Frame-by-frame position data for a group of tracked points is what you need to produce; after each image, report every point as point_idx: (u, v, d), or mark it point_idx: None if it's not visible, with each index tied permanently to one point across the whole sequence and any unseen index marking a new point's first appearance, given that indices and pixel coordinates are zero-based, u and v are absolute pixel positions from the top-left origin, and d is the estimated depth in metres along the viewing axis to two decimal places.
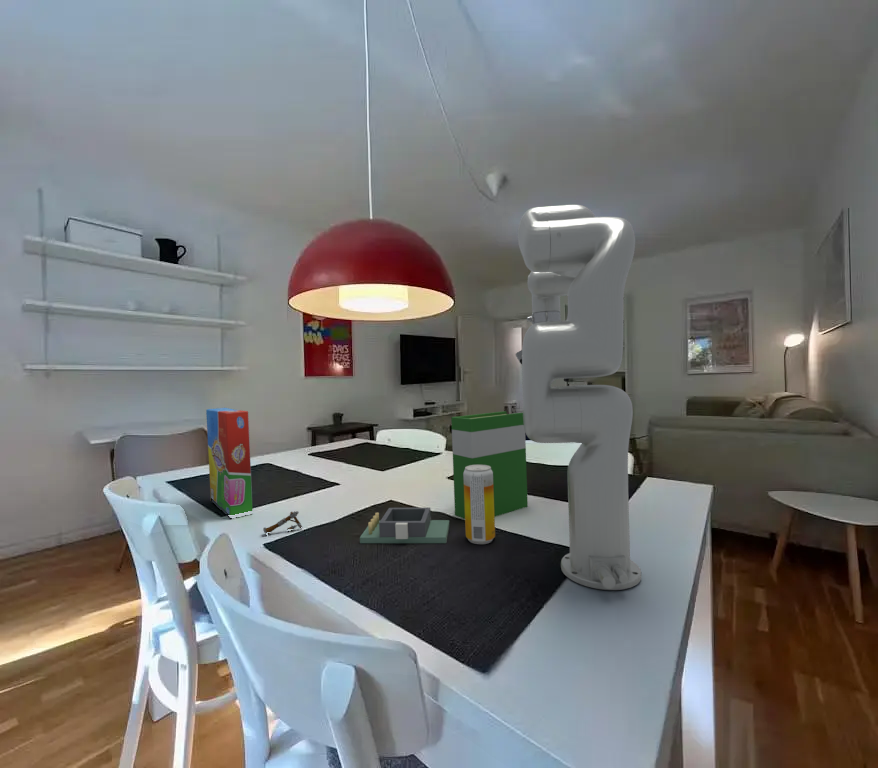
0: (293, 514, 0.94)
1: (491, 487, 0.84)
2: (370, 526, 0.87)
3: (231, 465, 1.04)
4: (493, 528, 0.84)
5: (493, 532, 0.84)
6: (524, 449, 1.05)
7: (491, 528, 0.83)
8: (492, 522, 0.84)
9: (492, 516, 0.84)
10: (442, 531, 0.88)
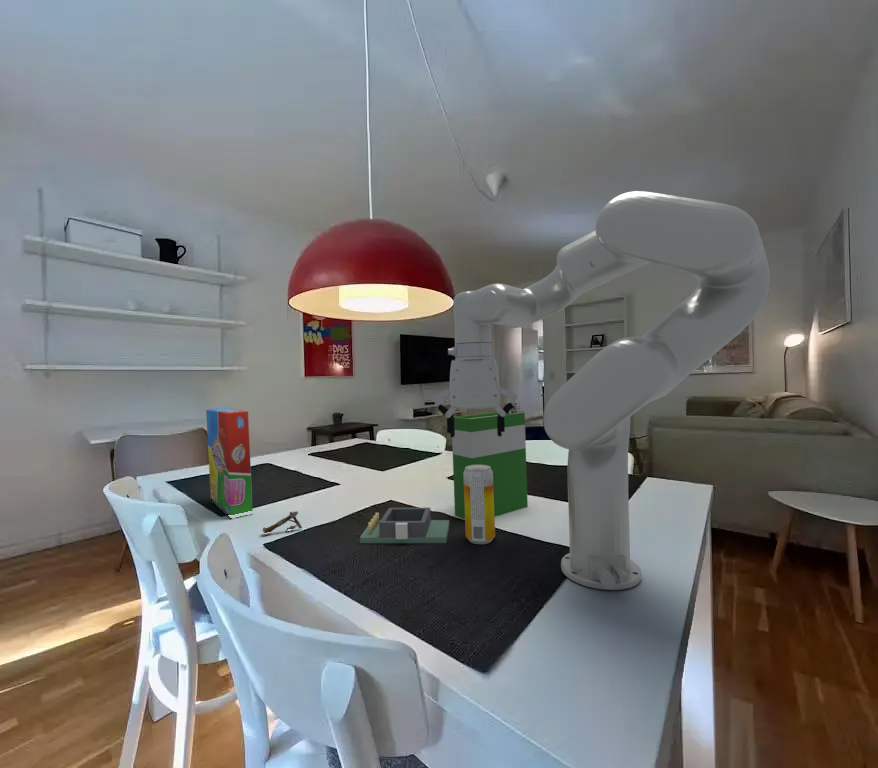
0: (292, 514, 0.94)
1: (491, 487, 0.84)
2: (370, 526, 0.87)
3: (231, 465, 1.04)
4: (493, 528, 0.84)
5: (493, 532, 0.84)
6: (524, 449, 1.05)
7: (491, 528, 0.83)
8: (492, 522, 0.84)
9: (492, 516, 0.84)
10: (442, 531, 0.88)
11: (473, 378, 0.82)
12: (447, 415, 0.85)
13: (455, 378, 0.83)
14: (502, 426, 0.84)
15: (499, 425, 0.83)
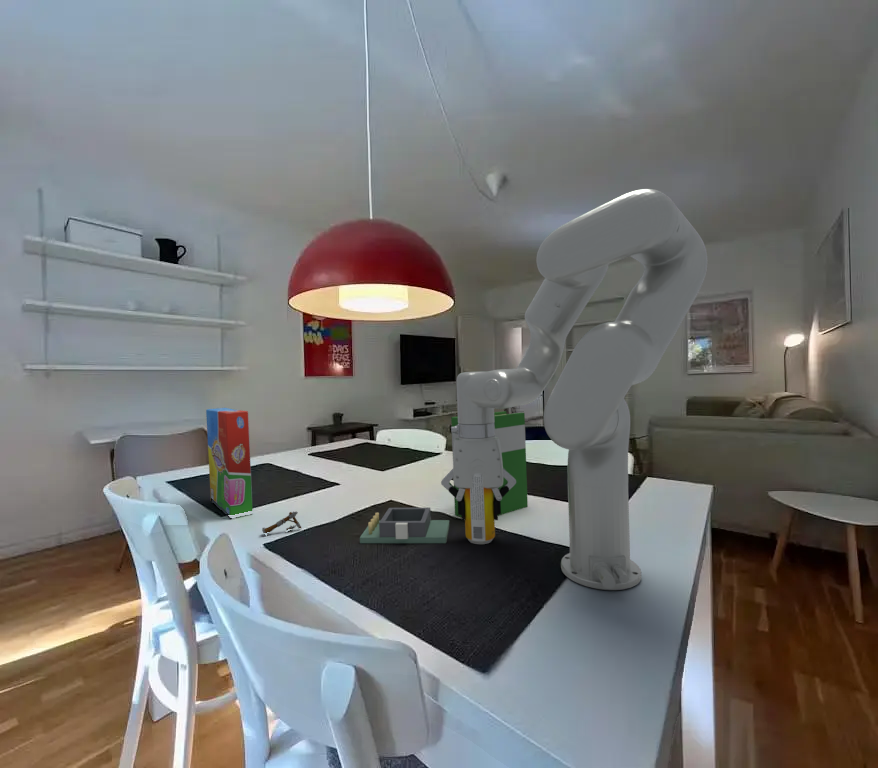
0: (292, 514, 0.94)
1: None
2: (370, 526, 0.87)
3: (231, 465, 1.04)
4: (493, 528, 0.84)
5: (493, 532, 0.84)
6: (524, 449, 1.05)
7: (491, 528, 0.83)
8: (492, 522, 0.84)
9: (492, 516, 0.84)
10: (442, 531, 0.88)
11: (476, 458, 0.83)
12: (458, 498, 0.85)
13: (458, 458, 0.83)
14: (498, 509, 0.84)
15: (495, 509, 0.84)
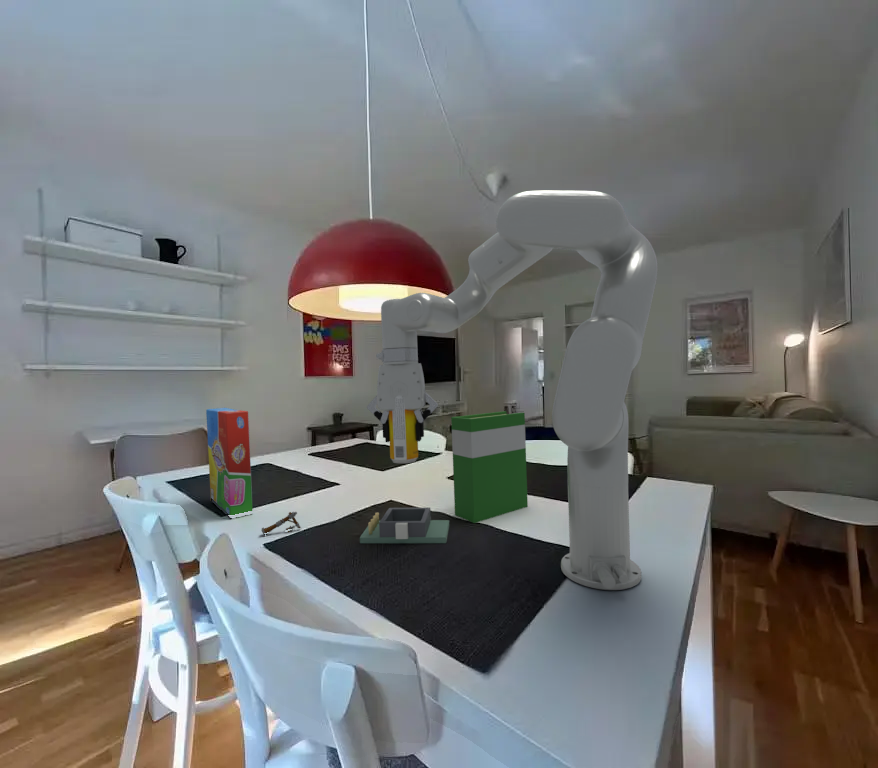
0: (291, 515, 0.94)
1: None
2: (370, 526, 0.87)
3: (231, 465, 1.04)
4: (415, 449, 0.88)
5: (415, 452, 0.88)
6: (524, 449, 1.05)
7: (413, 448, 0.88)
8: (414, 443, 0.88)
9: (414, 437, 0.88)
10: (442, 531, 0.88)
11: (398, 381, 0.87)
12: (382, 421, 0.89)
13: (381, 382, 0.87)
14: (420, 431, 0.88)
15: (417, 430, 0.88)
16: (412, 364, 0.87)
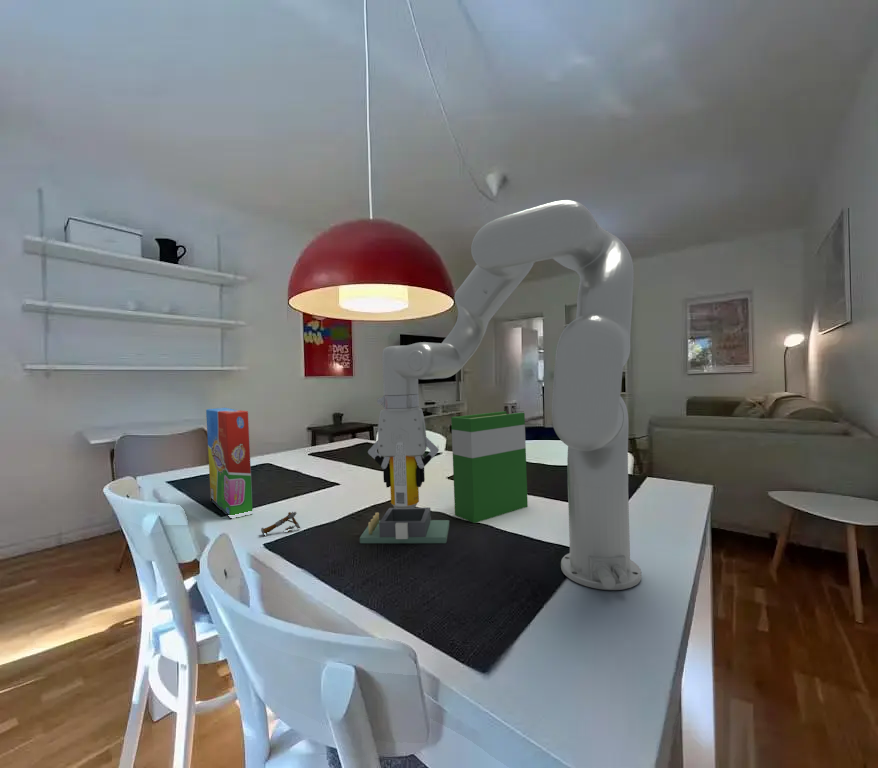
0: (291, 515, 0.94)
1: None
2: (370, 526, 0.87)
3: (231, 465, 1.04)
4: (416, 494, 0.89)
5: (415, 498, 0.88)
6: (524, 449, 1.05)
7: (413, 494, 0.88)
8: (414, 488, 0.88)
9: (414, 483, 0.88)
10: (442, 531, 0.88)
11: (399, 428, 0.87)
12: (383, 466, 0.89)
13: (382, 428, 0.87)
14: (421, 477, 0.89)
15: (418, 476, 0.88)
16: (413, 411, 0.87)
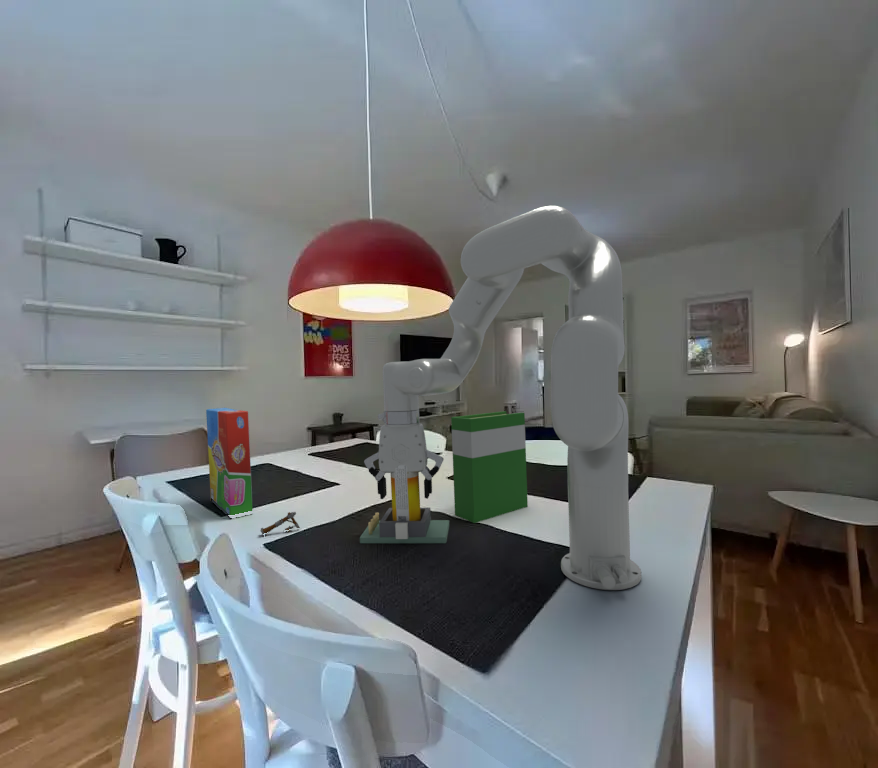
0: (290, 515, 0.94)
1: (415, 478, 0.88)
2: (370, 526, 0.87)
3: (231, 465, 1.04)
4: (418, 517, 0.89)
5: None
6: (524, 449, 1.05)
7: (415, 517, 0.88)
8: (416, 512, 0.88)
9: (416, 506, 0.88)
10: (442, 531, 0.88)
11: (400, 444, 0.87)
12: (377, 478, 0.89)
13: (383, 444, 0.88)
14: (429, 488, 0.89)
15: (425, 488, 0.88)
16: (414, 427, 0.87)
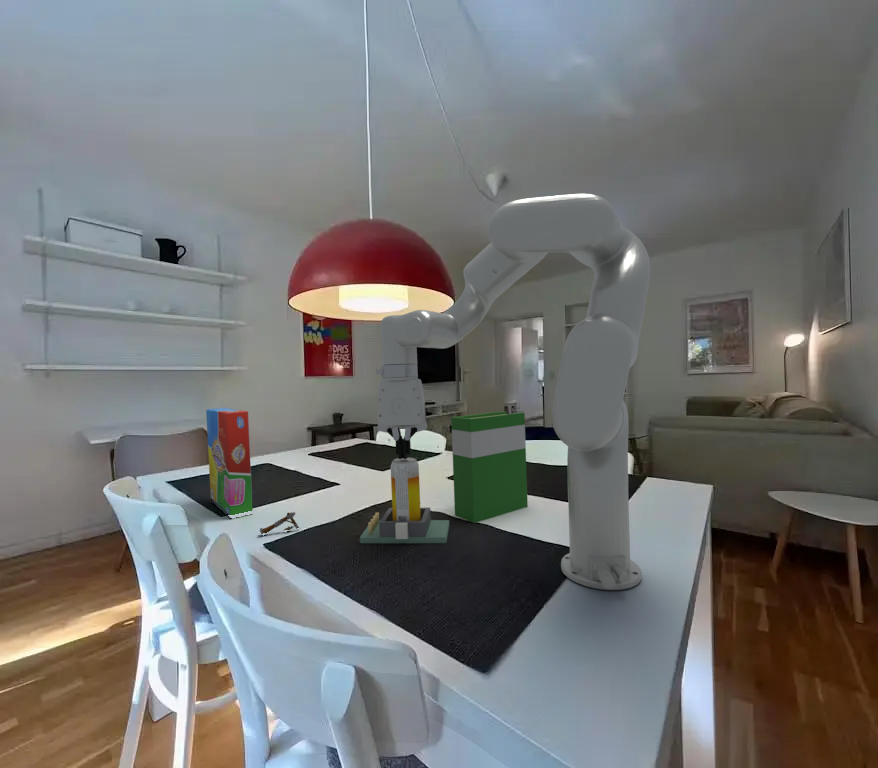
0: (290, 515, 0.94)
1: (415, 478, 0.88)
2: (370, 526, 0.87)
3: (231, 465, 1.04)
4: (418, 517, 0.89)
5: None
6: (524, 449, 1.05)
7: (415, 517, 0.88)
8: (417, 512, 0.88)
9: (417, 506, 0.88)
10: (442, 531, 0.88)
11: (398, 397, 0.87)
12: (396, 438, 0.89)
13: (381, 398, 0.87)
14: (407, 449, 0.89)
15: (403, 448, 0.88)
16: (412, 380, 0.87)
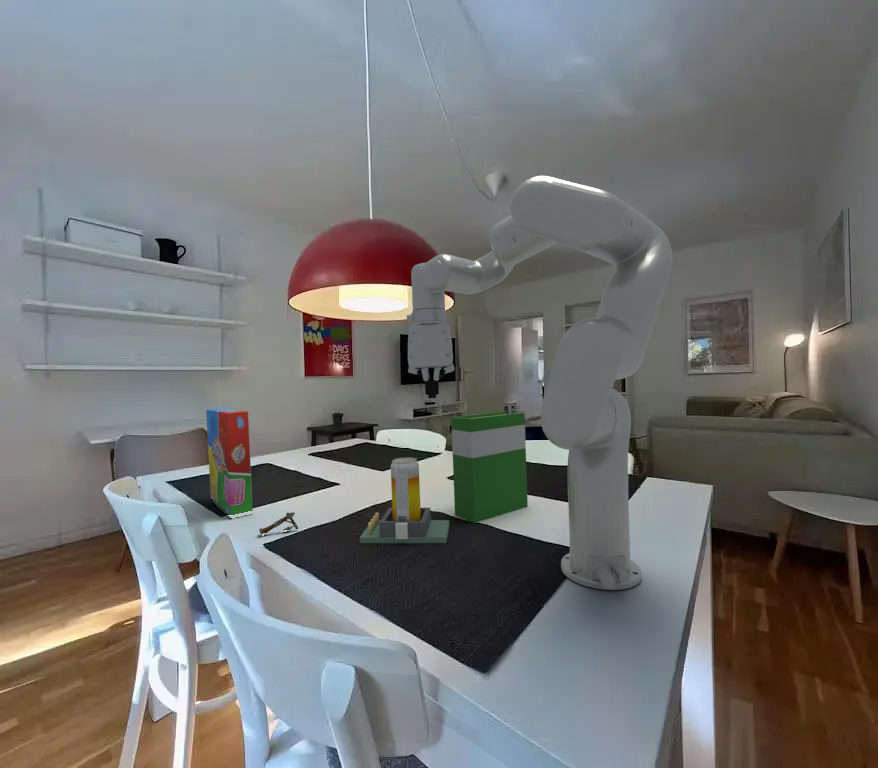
0: (289, 515, 0.94)
1: (416, 478, 0.88)
2: (370, 526, 0.87)
3: (231, 465, 1.04)
4: (418, 517, 0.89)
5: None
6: (524, 449, 1.05)
7: (415, 518, 0.88)
8: (417, 512, 0.88)
9: (417, 506, 0.88)
10: (442, 531, 0.88)
11: (428, 340, 0.93)
12: (425, 379, 0.95)
13: (412, 340, 0.93)
14: (436, 389, 0.95)
15: (433, 388, 0.94)
16: (441, 323, 0.93)
